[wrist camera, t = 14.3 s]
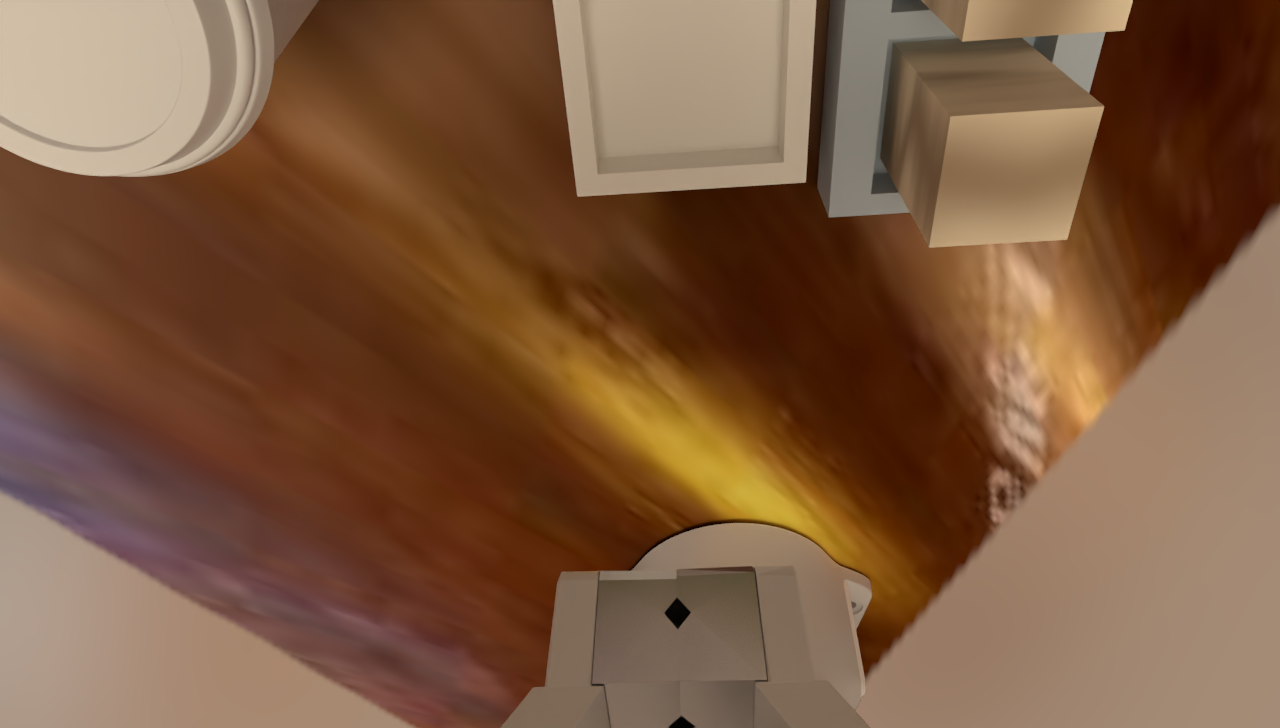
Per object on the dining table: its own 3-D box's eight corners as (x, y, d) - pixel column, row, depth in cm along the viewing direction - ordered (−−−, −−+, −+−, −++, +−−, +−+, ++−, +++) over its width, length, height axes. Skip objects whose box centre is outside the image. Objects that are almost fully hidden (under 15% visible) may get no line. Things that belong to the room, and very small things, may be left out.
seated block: (993, 150, 37) (1066, 239, 30) (879, 157, 37) (929, 247, 31) (1017, 33, 34) (1104, 106, 27) (893, 42, 34) (950, 116, 28)
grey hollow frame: (1034, 173, 39) (1059, 203, 36) (817, 187, 39) (828, 217, 37) (1136, -256, 29) (1180, -254, 26) (845, -231, 29) (863, -227, 27)
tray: (797, 158, 38) (805, 182, 36) (580, 172, 38) (577, 196, 37) (811, -115, 31) (822, -104, 29) (548, -95, 32) (542, -83, 30)
